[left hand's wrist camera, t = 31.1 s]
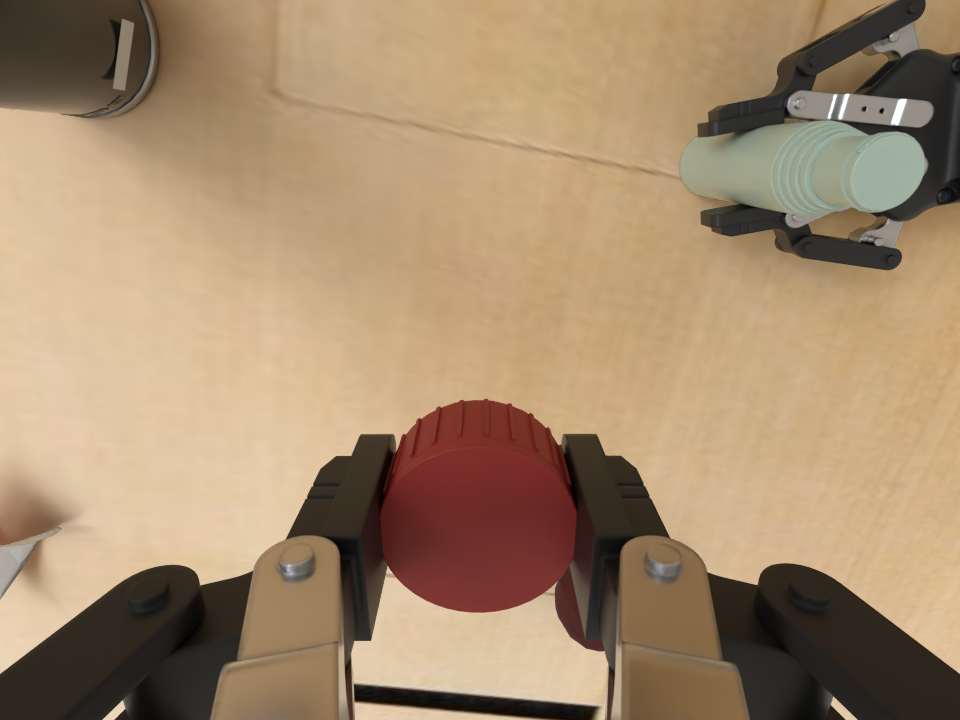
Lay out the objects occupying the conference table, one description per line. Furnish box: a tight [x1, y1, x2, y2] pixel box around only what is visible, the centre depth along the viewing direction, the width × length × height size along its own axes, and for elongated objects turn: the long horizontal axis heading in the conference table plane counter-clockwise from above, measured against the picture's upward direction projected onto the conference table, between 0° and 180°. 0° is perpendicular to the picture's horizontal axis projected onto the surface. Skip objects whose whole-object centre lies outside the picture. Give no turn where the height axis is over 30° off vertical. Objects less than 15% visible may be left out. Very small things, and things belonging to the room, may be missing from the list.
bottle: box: [679, 120, 925, 216], centre depth 28 cm, size 4×4×17 cm
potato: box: [555, 565, 605, 651], centre depth 44 cm, size 7×8×7 cm
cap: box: [380, 399, 577, 612], centre depth 11 cm, size 4×4×2 cm
